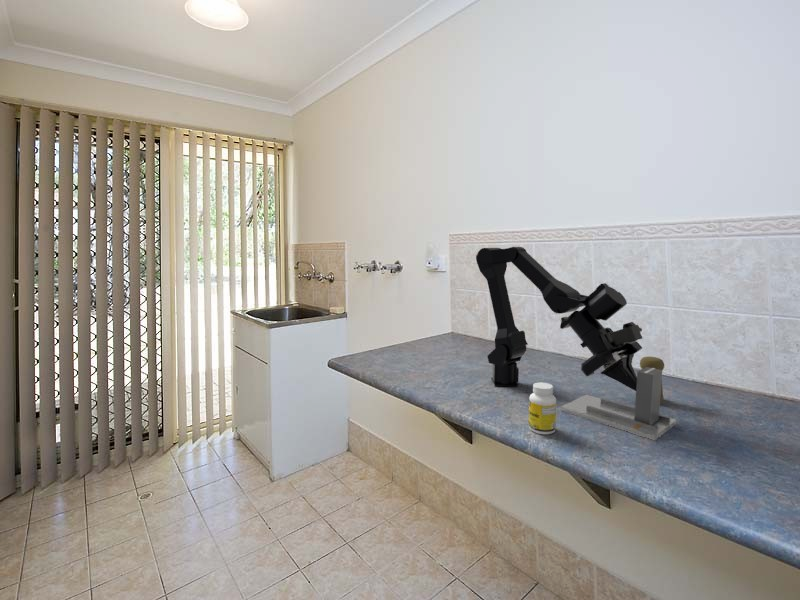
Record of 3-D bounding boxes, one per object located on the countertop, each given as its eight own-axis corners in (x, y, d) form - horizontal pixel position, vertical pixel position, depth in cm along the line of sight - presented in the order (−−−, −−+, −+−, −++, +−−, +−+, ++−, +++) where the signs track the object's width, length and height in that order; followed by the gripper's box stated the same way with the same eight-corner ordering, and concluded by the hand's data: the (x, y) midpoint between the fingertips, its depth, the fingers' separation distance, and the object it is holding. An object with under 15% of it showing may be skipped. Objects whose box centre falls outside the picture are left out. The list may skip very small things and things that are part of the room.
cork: (636, 393, 106) (639, 353, 105) (663, 398, 103) (667, 356, 101) (634, 401, 101) (637, 358, 100) (663, 406, 98) (666, 362, 97)
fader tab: (634, 421, 87) (637, 370, 85) (643, 415, 90) (646, 366, 88) (649, 425, 84) (653, 374, 83) (658, 419, 87) (662, 369, 86)
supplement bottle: (524, 424, 89) (525, 381, 87) (548, 423, 89) (549, 380, 88) (534, 435, 83) (536, 390, 82) (559, 434, 84) (561, 389, 82)
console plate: (561, 410, 96) (561, 402, 96) (585, 398, 103) (586, 390, 103) (654, 440, 80) (655, 431, 80) (676, 424, 88) (676, 415, 88)
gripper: (598, 315, 84) (653, 380, 77) (635, 307, 95) (686, 362, 88) (561, 346, 91) (608, 407, 84) (600, 334, 102) (644, 387, 95)
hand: (639, 390), depth 88 cm, fingers closed, pressing on fader tab
